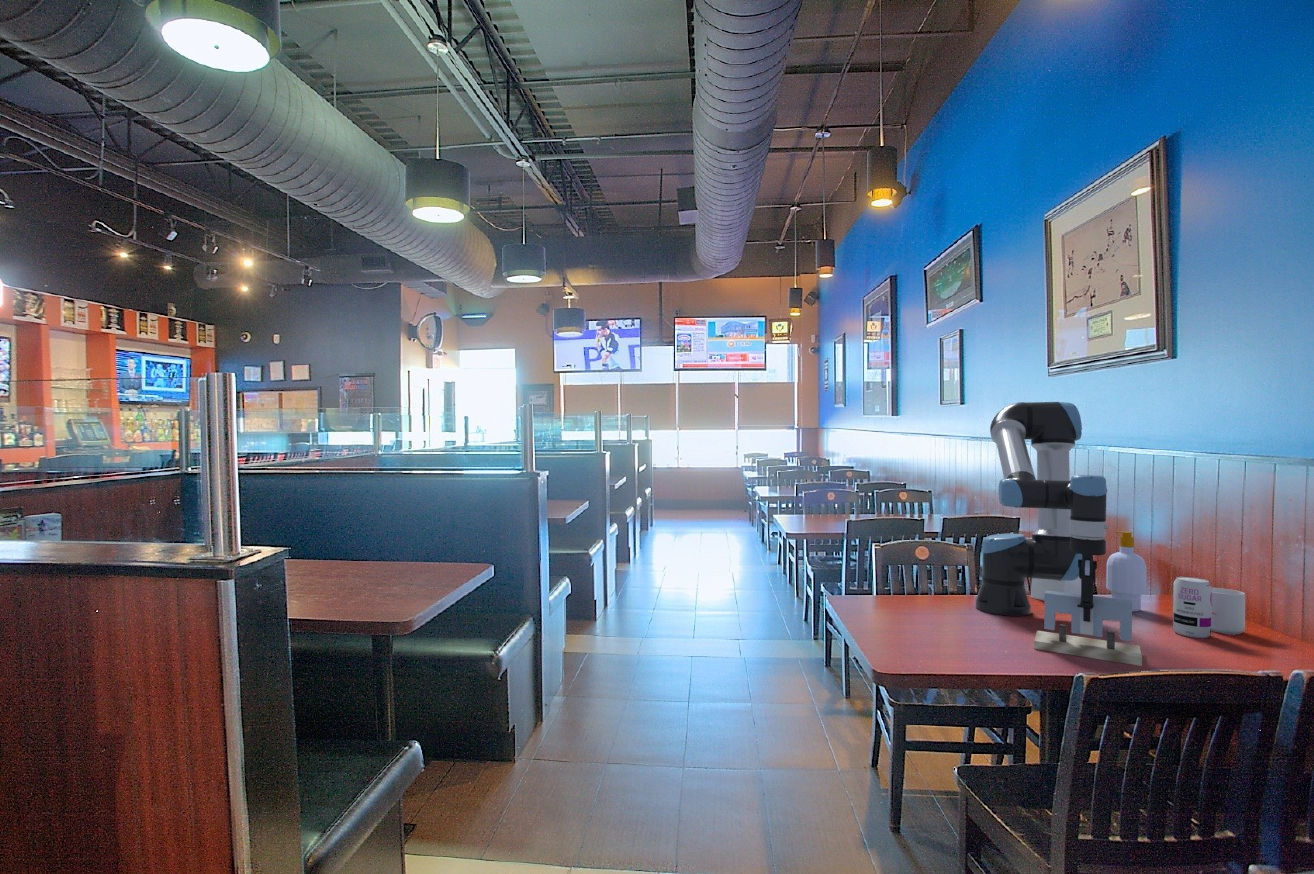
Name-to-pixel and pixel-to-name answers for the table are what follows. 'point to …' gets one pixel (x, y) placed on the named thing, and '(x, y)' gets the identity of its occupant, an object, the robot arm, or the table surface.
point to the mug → (1227, 611)
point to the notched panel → (1101, 610)
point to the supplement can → (1192, 607)
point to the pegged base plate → (1088, 646)
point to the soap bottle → (1126, 573)
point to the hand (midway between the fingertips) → (1086, 631)
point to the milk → (1054, 587)
